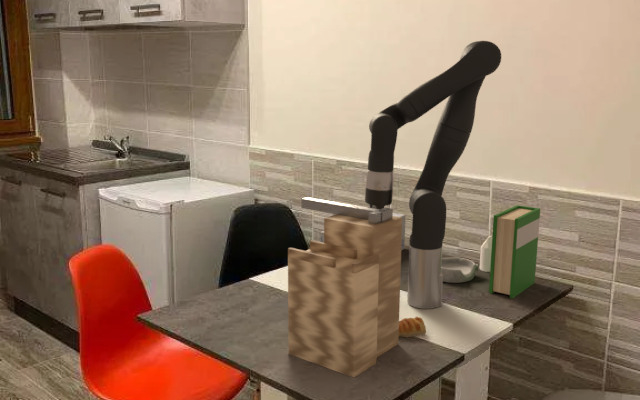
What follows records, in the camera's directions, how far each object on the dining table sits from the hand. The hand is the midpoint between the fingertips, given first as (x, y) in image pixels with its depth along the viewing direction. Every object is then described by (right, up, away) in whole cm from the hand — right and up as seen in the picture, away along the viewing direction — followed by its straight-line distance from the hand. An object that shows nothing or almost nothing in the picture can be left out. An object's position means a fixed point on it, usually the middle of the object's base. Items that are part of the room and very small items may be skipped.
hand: (375, 243), depth 183 cm
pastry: (+7, -22, -16) cm, 28 cm away
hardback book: (+43, -15, +18) cm, 49 cm away
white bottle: (+41, -11, +35) cm, 55 cm away
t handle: (-10, +9, -26) cm, 29 cm away
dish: (+27, -13, +28) cm, 41 cm away
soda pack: (0, -9, +46) cm, 47 cm away
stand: (-9, -24, -26) cm, 36 cm away
